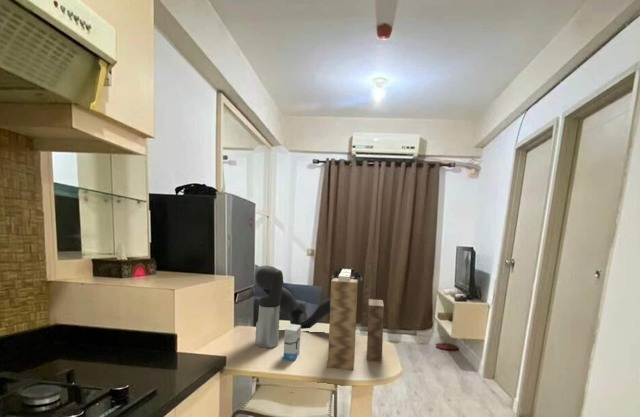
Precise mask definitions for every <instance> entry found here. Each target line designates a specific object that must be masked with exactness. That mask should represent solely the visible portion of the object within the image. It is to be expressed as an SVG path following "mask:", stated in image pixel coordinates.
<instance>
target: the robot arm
mask: <svg viewBox="0 0 640 417" xmlns="http://www.w3.org/2000/svg"><path fill="white" fill-rule="evenodd" d="M342 269H343V267H340V268H338V270H335V271H334V272H333V273H332V276H331V280H332V279H333V278H338V276H339V274H340V273H341V271H342ZM350 269H351V277H350V279H356V280H358V283H360V284H361V283H363V276H362V275H361V274H360V273H359V272H358V271H356V272H355V269H353V267H352V268H350ZM255 280H256V284H257V287H258V288H259V289H260V290H262V292H264V293H265V294H266V296H263V297H260V298H259V301H258V319H257V321H256V324H255V338H254V341H255V342H254V345H256V346H258V347H259V348H263V349H271V348H272V349H273V348H275V347H277V346H279V334H280V333H279V330H280V314H281V313H283V314H288V317H289V325H290V324H295V325H301V330H304V329H311V328H312V327H313V326H315V325H316V324H318V323H319V322H320V321H321V320H323V319H324V318H326V317H327V316H330V301H331V297H329V298H327V299H326V300H324V301H322V302H321V303H320V304H319V305H318V307H317V308H316V309H315V311H314V312H313V314H311V316H309V317H308V316H307V313H306V311H305V310H304V309H303V308H302V307H301V306H300V305H299V303H298V302H297V300H296V298H295V297H294V295H293V294H292V293H291V291H289V290H288V289H287V288H285V287H283V286H284V285H283V284H284V274H283V271H282V270H281V269H278V268H277V269H276V268H268V267H264V268H261V269H259V270H258V271H257V273H256V275H255Z"/></svg>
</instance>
